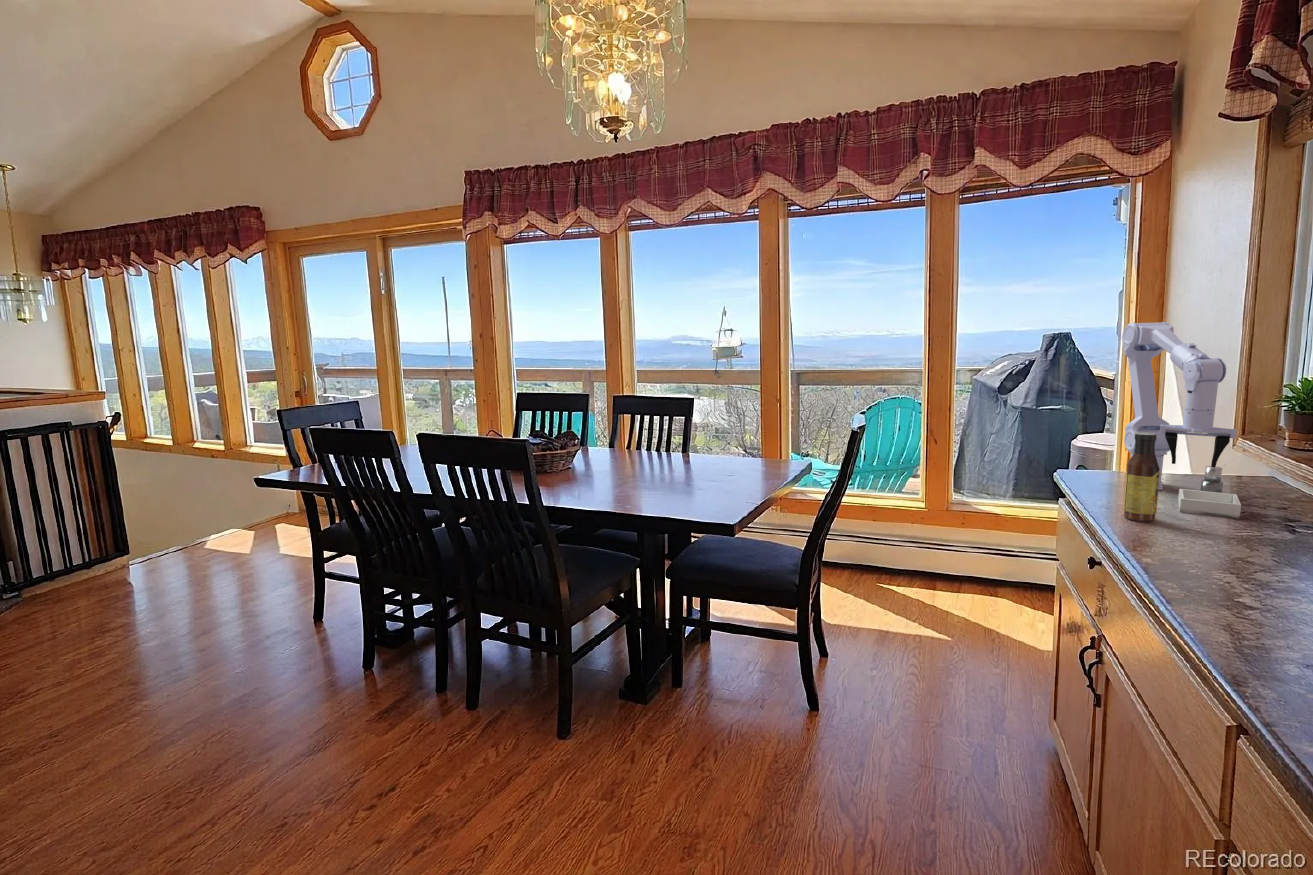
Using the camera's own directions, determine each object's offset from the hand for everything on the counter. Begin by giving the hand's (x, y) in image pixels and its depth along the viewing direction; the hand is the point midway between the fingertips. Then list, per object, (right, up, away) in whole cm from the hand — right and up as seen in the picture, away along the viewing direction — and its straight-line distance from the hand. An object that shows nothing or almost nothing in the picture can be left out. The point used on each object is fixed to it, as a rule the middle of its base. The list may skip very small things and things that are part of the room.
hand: (1193, 464), depth 170 cm
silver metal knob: (+7, -8, +4) cm, 11 cm away
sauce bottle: (-19, -12, -9) cm, 24 cm away
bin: (+1, -11, -3) cm, 11 cm away
